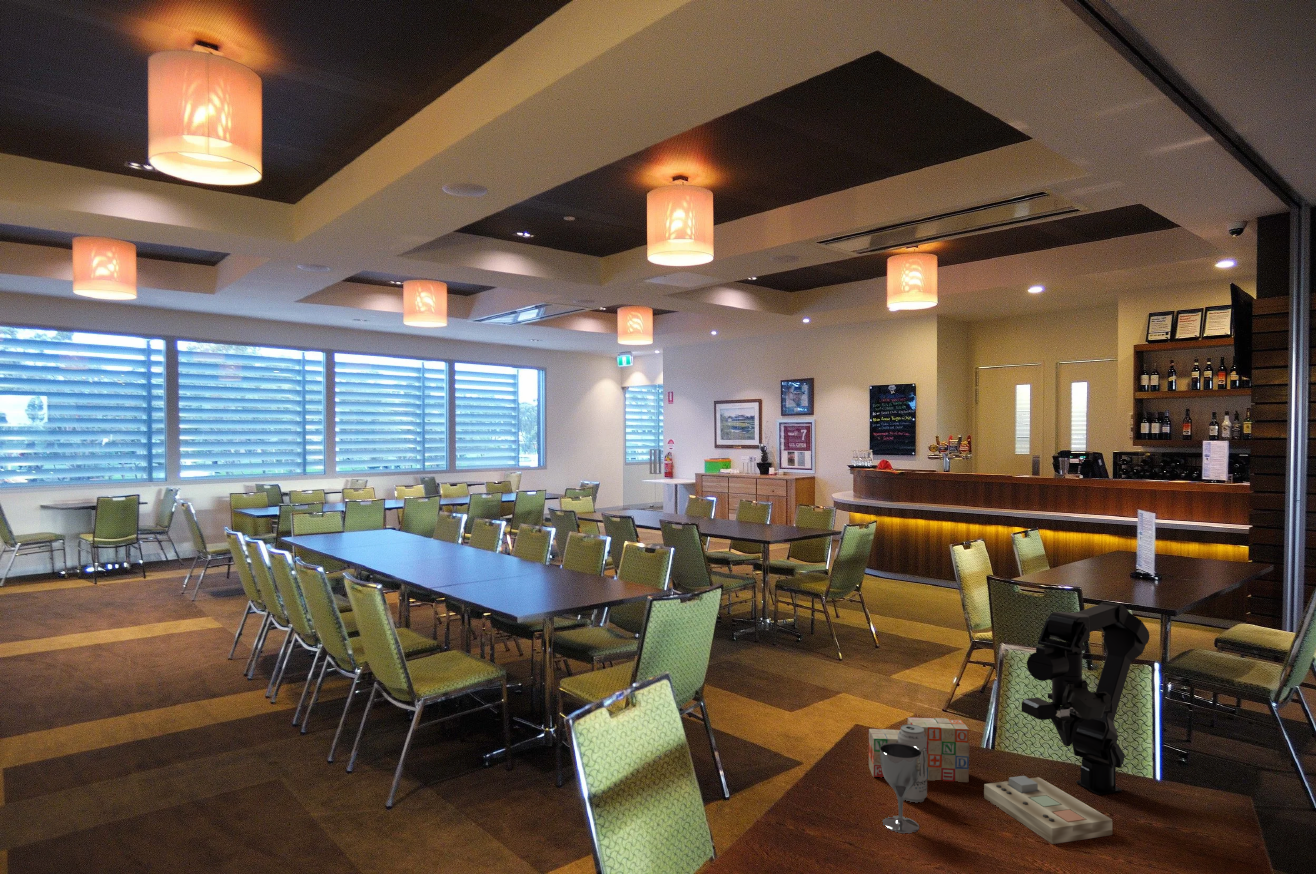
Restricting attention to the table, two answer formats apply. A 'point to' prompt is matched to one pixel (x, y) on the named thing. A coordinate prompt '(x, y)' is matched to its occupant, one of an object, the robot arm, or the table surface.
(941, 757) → the stack of blocks
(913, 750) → the wine glass
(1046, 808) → the key panel
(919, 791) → the energy drink can
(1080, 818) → the two-dot key
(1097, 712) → the robot arm
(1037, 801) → the one-dot key
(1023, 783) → the three-dot key
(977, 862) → the table surface
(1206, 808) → the table surface
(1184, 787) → the table surface
